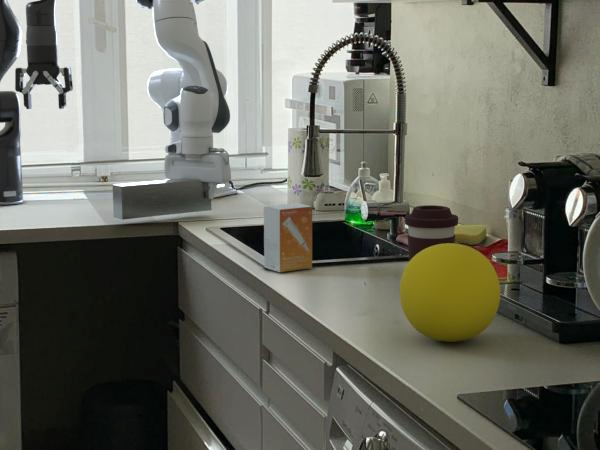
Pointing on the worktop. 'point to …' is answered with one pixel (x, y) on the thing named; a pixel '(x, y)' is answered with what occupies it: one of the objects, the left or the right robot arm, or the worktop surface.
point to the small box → (288, 237)
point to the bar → (160, 198)
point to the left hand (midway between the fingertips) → (45, 108)
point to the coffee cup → (429, 227)
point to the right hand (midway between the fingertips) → (198, 197)
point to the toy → (450, 292)
